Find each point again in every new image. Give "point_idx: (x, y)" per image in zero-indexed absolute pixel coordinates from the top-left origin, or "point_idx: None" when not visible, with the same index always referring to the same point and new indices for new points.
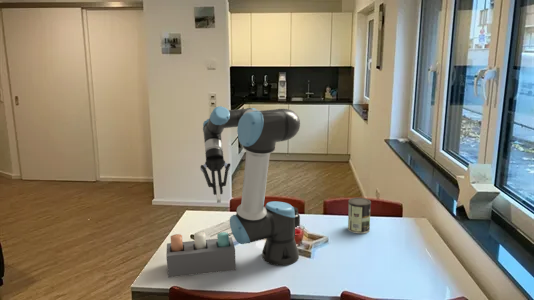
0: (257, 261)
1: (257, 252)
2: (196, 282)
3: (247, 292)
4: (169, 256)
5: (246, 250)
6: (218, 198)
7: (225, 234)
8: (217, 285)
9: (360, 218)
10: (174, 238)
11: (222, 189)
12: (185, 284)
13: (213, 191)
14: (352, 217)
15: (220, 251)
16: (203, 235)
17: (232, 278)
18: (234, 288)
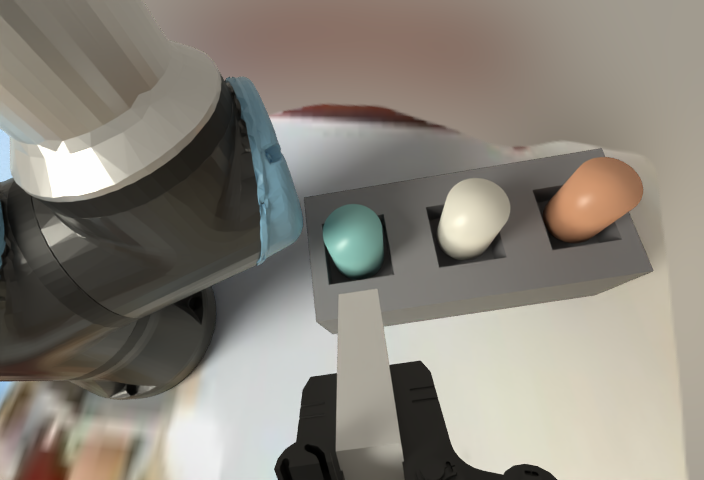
0: (238, 293)
1: (227, 372)
2: (449, 164)
3: (291, 113)
4: (586, 152)
5: (270, 397)
6: (363, 300)
7: (338, 232)
8: (379, 147)
9: None
10: (610, 163)
11: (300, 419)
12: (483, 154)
13: (431, 380)
14: None
15: (367, 189)
16: (454, 192)
17: (333, 183)
18: (327, 131)
